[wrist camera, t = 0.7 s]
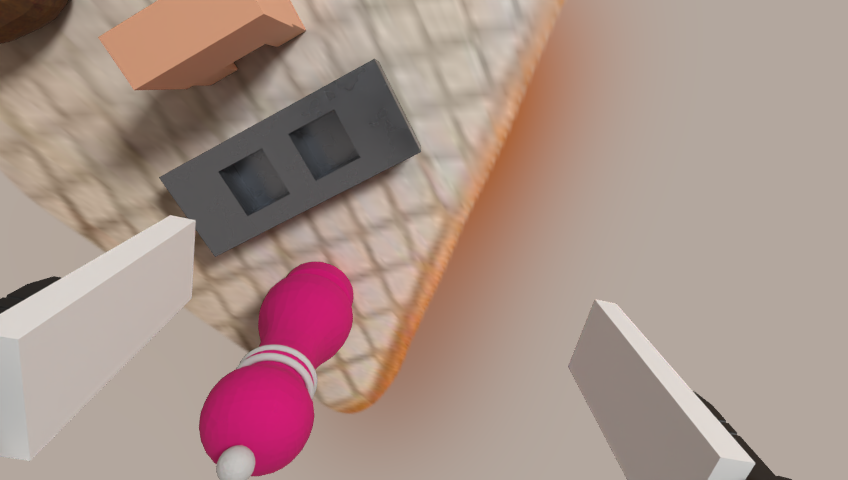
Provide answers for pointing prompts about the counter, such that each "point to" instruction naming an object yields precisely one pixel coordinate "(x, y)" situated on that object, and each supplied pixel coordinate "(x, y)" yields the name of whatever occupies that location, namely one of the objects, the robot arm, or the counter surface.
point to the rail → (294, 159)
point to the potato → (26, 16)
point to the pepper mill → (278, 375)
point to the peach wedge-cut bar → (196, 39)
